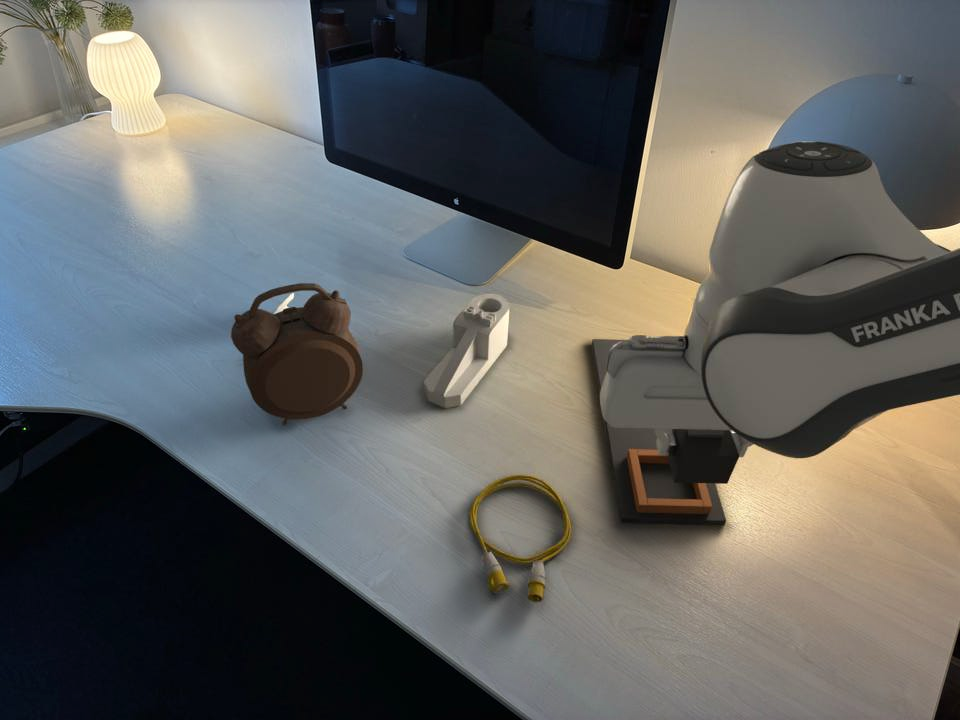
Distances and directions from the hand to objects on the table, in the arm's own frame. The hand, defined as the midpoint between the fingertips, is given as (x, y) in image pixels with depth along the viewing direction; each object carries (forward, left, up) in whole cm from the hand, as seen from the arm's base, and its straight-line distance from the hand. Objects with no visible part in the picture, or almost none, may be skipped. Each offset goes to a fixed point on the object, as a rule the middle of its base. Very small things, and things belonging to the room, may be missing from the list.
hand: (699, 451), depth 64 cm
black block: (0, 0, -2) cm, 2 cm away
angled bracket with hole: (+38, -2, -18) cm, 42 cm away
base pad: (+14, -14, -18) cm, 27 cm away
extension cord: (+12, +11, -18) cm, 24 cm away
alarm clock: (+44, +20, -18) cm, 52 cm away
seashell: (+62, +16, -18) cm, 67 cm away
